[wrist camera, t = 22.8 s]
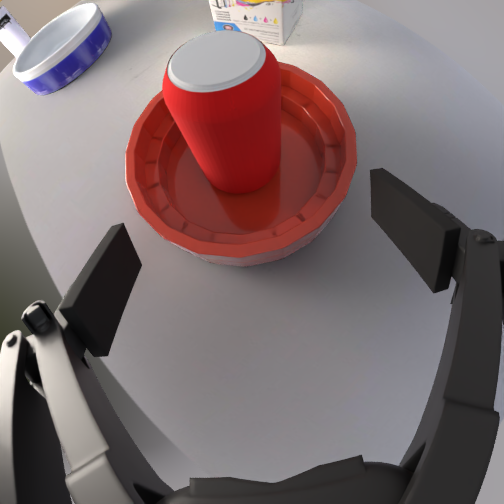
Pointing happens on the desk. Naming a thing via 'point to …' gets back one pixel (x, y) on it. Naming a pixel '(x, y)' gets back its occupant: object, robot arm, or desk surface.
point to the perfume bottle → (12, 32)
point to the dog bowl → (63, 49)
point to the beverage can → (228, 107)
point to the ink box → (258, 17)
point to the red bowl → (252, 203)
